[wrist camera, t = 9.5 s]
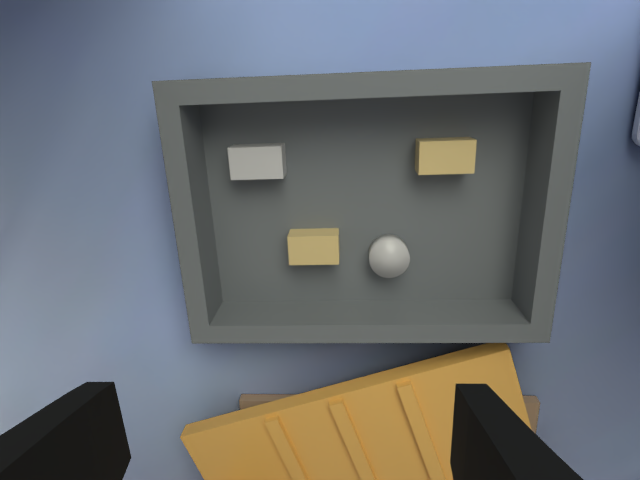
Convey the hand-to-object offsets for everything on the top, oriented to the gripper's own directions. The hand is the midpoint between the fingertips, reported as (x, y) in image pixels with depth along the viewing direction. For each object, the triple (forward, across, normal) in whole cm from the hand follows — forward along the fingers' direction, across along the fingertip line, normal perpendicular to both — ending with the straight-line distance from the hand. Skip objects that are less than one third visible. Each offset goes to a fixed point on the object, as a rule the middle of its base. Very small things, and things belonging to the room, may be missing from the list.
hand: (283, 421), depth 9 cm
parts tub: (+10, -2, -2) cm, 11 cm away
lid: (+10, -2, +11) cm, 15 cm away
